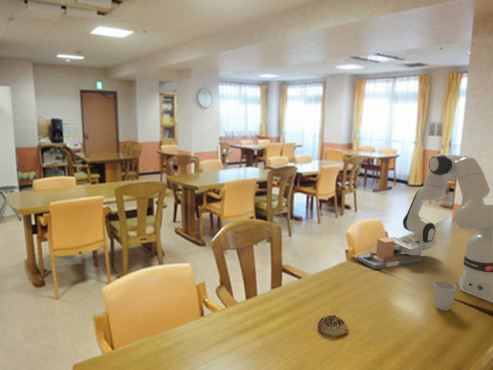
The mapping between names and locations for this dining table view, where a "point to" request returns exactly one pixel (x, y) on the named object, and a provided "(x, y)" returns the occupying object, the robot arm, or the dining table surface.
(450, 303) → the cup
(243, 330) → the dining table surface
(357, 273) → the dining table surface
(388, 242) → the block
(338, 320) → the bread roll
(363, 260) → the tray
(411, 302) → the dining table surface
